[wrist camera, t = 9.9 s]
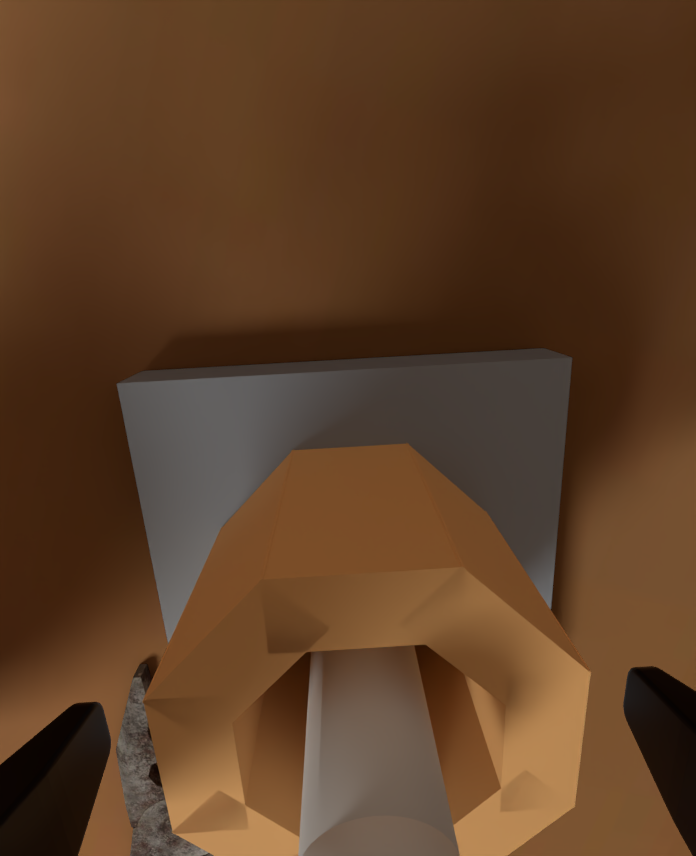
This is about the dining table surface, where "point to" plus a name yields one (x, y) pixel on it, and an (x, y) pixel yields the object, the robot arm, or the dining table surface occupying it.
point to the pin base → (350, 427)
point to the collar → (356, 629)
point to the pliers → (146, 781)
